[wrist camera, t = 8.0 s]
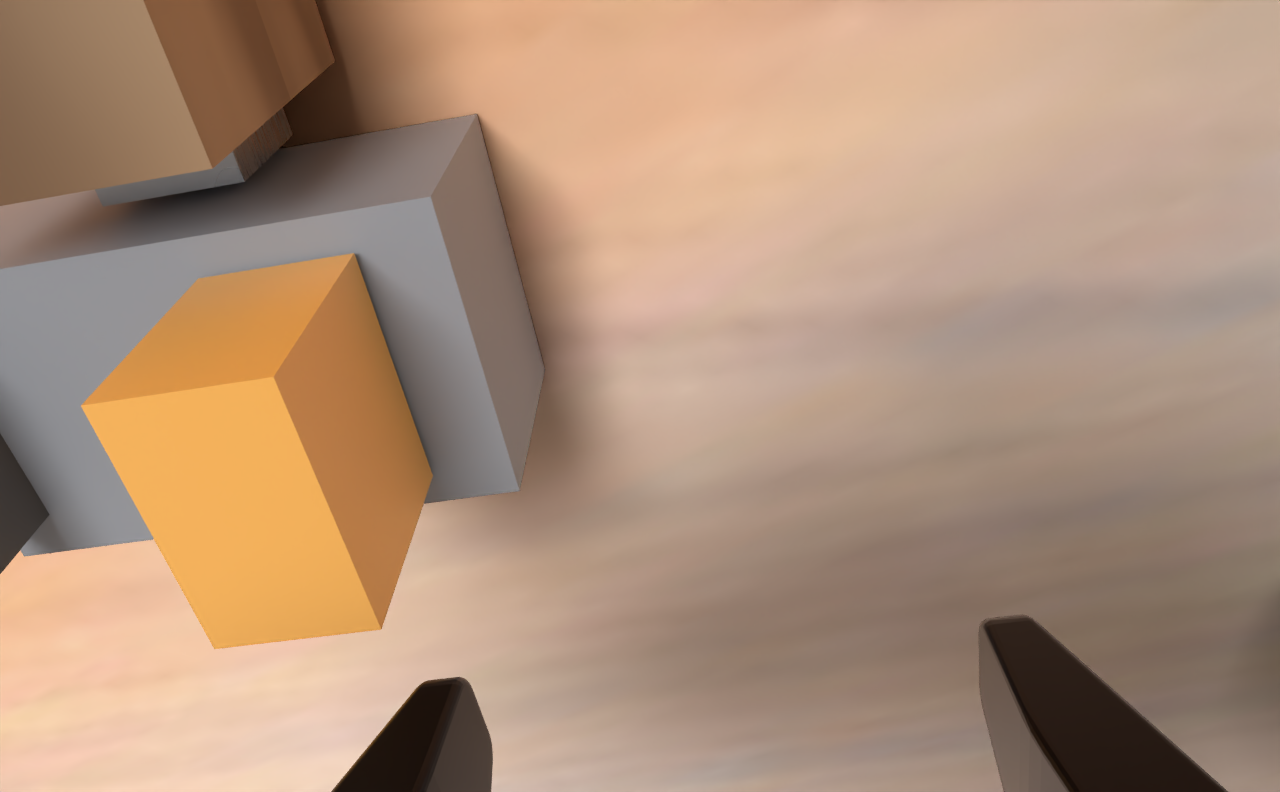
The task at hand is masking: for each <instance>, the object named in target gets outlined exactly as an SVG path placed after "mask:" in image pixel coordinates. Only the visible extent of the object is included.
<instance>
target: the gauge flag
mask: <svg viewBox="0 0 1280 792" xmlns="http://www.w3.org/2000/svg"><path fill="white" fill-rule="evenodd" d="M81 407H82V409H83V411H84V413H85V415H86V416H87V418H88V420H89V422H90V424H91V425H92V427H93V429H94V431H95V433H96V435H97V436H98V438H99V440H100V442H101V444H102V445H103V447H104V449H105V451H106V453H107V455H108V456H109V458H110V460H111V462H112V464H113V465H114V467H115V469H116V471H117V473H118V475H119V476H120V478H121V480H122V482H123V484H124V485H125V487H126V489H127V491H128V493H129V495H130V496H131V498H132V500H133V502H134V504H135V505H136V507H137V509H138V511H139V513H140V515H141V516H142V518H143V520H144V522H145V524H146V525H147V527H148V529H149V531H150V533H151V535H152V536H153V538H154V540H155V542H156V544H157V545H158V547H159V549H160V551H161V553H162V555H163V556H164V558H165V560H166V562H167V564H168V565H169V567H170V569H171V571H172V573H173V575H174V576H175V578H176V580H177V582H178V584H179V585H180V587H181V589H182V591H183V593H184V595H185V596H186V598H187V600H188V602H189V604H190V605H191V607H192V609H193V611H194V613H195V615H196V616H197V618H198V620H199V622H200V624H201V625H202V627H203V629H204V631H205V633H206V635H207V636H208V638H209V640H210V642H211V644H212V646H213V647H214V649H219V648H228V647H236V646H245V645H253V644H262V643H270V642H279V641H287V640H296V639H304V638H313V637H321V636H330V635H338V634H347V633H355V632H364V631H372V630H381V629H382V626H383V623H384V620H385V617H386V614H387V611H388V608H389V605H390V602H391V599H392V596H393V593H394V590H395V587H396V584H397V581H398V578H399V575H400V572H401V569H402V566H403V563H404V560H405V557H406V554H407V551H408V548H409V546H410V543H411V540H412V537H413V534H414V531H415V528H416V525H417V522H418V519H419V516H420V513H421V510H422V507H423V504H424V501H425V498H426V495H427V492H428V489H429V486H430V483H431V480H432V477H433V474H432V472H431V469H430V466H429V463H428V460H427V457H426V455H425V452H424V449H423V446H422V443H421V441H420V438H419V435H418V432H417V429H416V426H415V424H414V421H413V418H412V415H411V412H410V409H409V407H408V404H407V401H406V398H405V395H404V392H403V390H402V387H401V384H400V381H399V378H398V375H397V373H396V370H395V367H394V364H393V361H392V358H391V356H390V353H389V350H388V347H387V344H386V342H385V339H384V336H383V333H382V330H381V327H380V325H379V322H378V319H377V316H376V313H375V310H374V308H373V305H372V302H371V299H370V296H369V293H368V291H367V288H366V285H365V282H364V279H363V276H362V274H361V271H360V268H359V265H358V262H357V259H356V257H355V254H354V253H351V254H345V255H339V256H333V257H327V258H321V259H314V260H308V261H302V262H296V263H290V264H284V265H278V266H272V267H265V268H259V269H253V270H247V271H241V272H235V273H229V274H222V275H216V276H210V277H204V278H198V279H197V280H196V281H195V283H194V284H193V285H192V286H191V287H190V288H189V289H188V290H187V291H186V292H185V293H184V294H183V296H182V297H181V298H180V299H179V300H178V301H177V302H176V303H175V304H174V305H173V306H172V307H171V309H170V310H169V311H168V312H167V313H166V314H165V315H164V316H163V317H162V318H161V319H160V320H159V322H158V323H157V324H156V325H155V326H154V327H153V328H152V329H151V330H150V331H149V332H148V333H147V335H146V336H145V337H144V338H143V339H142V340H141V341H140V342H139V343H138V344H137V345H136V346H135V348H134V349H133V350H132V351H131V352H130V353H129V354H128V355H127V356H126V357H125V358H124V359H123V361H122V362H121V363H120V364H119V365H118V366H117V367H116V368H115V369H114V370H113V371H112V372H111V373H110V375H109V376H108V377H107V378H106V379H105V380H104V381H103V382H102V383H101V384H100V385H99V386H98V388H97V389H96V390H95V391H94V392H93V393H92V394H91V395H90V396H89V397H88V398H87V399H86V401H85V402H84V403H83V404H82V405H81Z"/></svg>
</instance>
